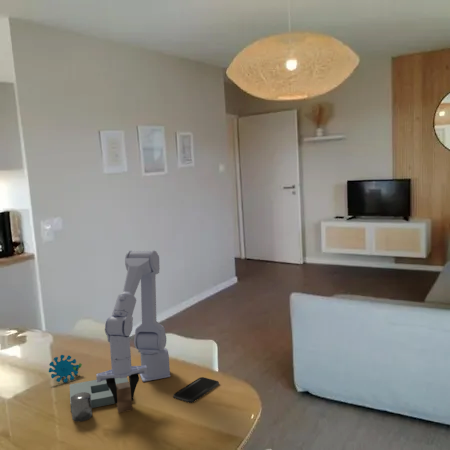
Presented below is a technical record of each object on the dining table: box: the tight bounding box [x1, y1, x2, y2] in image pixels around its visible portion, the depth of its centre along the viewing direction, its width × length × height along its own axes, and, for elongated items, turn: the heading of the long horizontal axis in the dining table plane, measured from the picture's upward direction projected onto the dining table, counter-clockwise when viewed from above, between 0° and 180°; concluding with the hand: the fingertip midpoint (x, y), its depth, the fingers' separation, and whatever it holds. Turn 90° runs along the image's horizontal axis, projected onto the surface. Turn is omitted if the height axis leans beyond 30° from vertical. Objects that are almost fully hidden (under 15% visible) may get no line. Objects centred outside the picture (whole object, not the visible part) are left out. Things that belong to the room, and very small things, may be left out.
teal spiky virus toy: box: [48, 354, 83, 384], centre depth 161 cm, size 11×6×10 cm
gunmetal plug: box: [70, 392, 93, 423], centre depth 134 cm, size 6×6×6 cm
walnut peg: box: [116, 381, 133, 413], centre depth 138 cm, size 4×4×7 cm
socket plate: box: [69, 376, 129, 413], centre depth 146 cm, size 18×14×2 cm
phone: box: [173, 376, 220, 404], centre depth 147 cm, size 8×1×15 cm
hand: (123, 400), depth 138 cm, fingers closed on walnut peg, 4 cm apart
